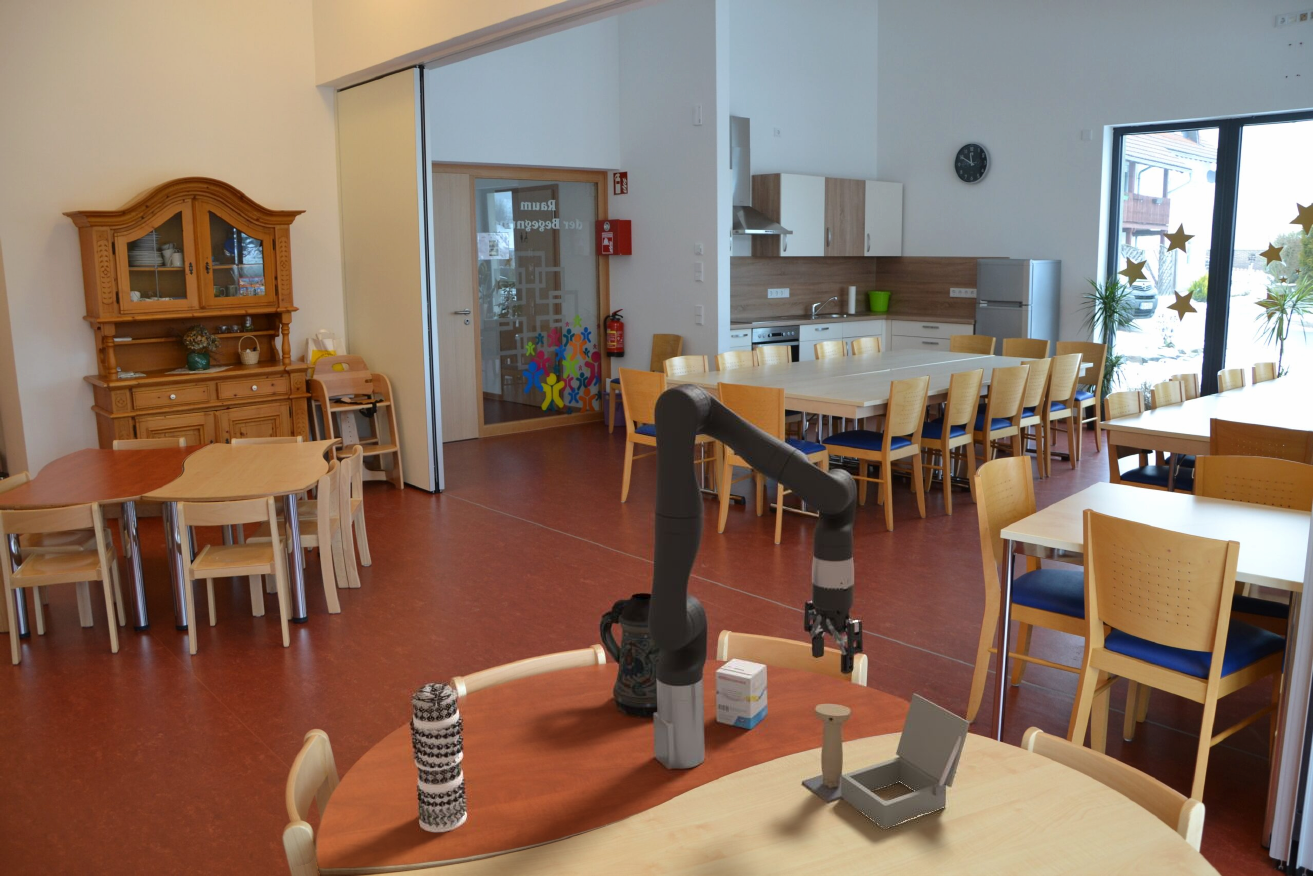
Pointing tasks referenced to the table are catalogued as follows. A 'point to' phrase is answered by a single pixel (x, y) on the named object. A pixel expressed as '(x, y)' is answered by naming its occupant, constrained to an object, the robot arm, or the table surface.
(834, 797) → the mat
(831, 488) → the robot arm
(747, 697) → the ink box
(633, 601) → the beer stein
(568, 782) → the table surface
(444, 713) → the decorative candle
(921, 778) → the case
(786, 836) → the table surface
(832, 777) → the handle
